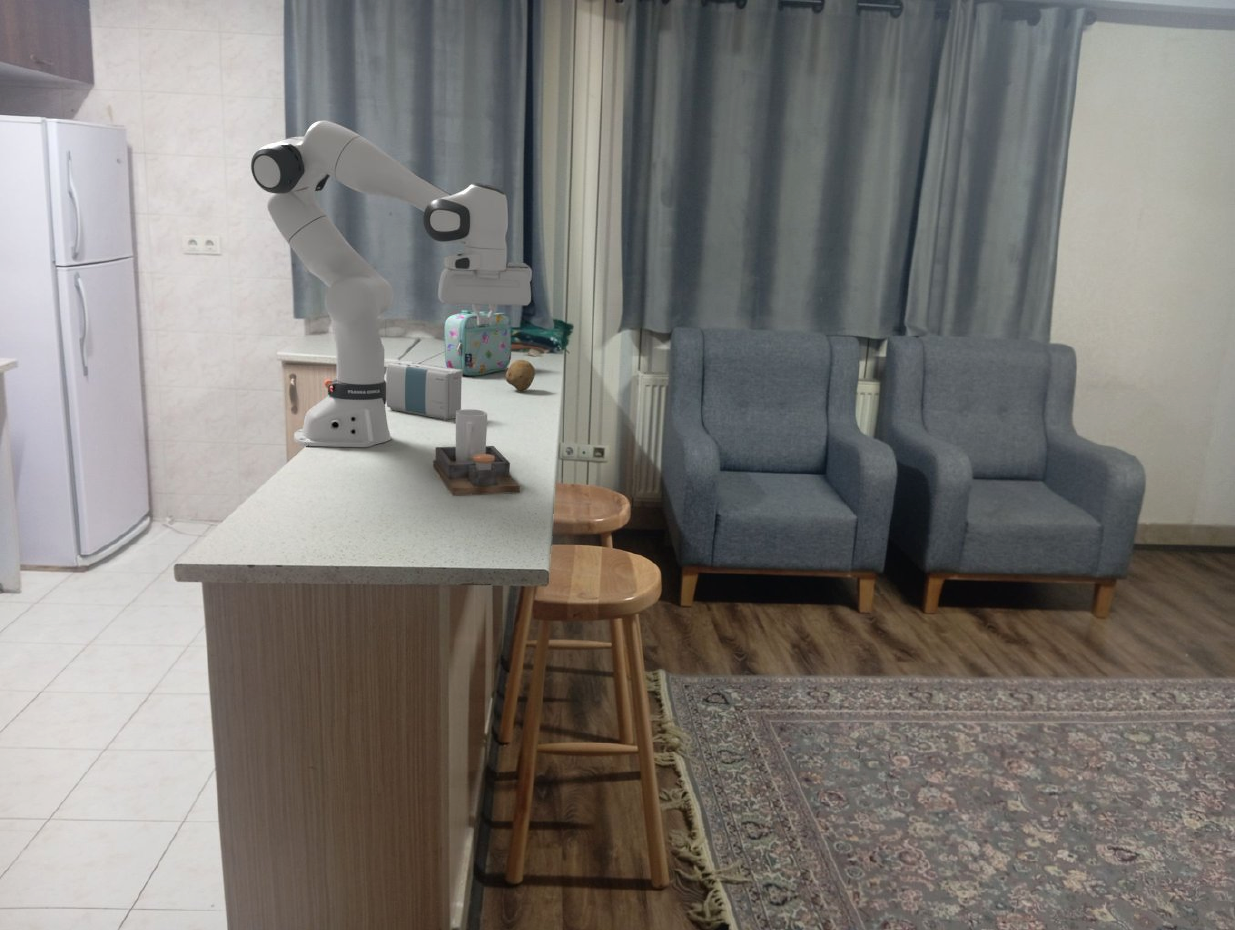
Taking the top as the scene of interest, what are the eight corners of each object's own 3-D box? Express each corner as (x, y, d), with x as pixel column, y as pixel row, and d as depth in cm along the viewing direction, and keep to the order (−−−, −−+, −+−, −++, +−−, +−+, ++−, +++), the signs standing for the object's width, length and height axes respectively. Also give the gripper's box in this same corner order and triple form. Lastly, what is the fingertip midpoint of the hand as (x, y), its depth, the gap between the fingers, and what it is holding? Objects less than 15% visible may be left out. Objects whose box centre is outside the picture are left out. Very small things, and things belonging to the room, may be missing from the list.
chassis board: (452, 495, 204) (453, 473, 203) (433, 466, 224) (433, 447, 222) (519, 492, 209) (520, 471, 208) (494, 465, 229) (495, 445, 227)
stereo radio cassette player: (384, 410, 277) (384, 337, 272) (404, 406, 284) (404, 335, 279) (446, 422, 268) (447, 347, 263) (464, 417, 275) (466, 344, 270)
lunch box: (463, 379, 330) (465, 313, 325) (439, 375, 335) (441, 310, 330) (513, 370, 352) (516, 309, 347) (490, 366, 357) (492, 305, 352)
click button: (474, 482, 206) (475, 459, 205) (470, 476, 210) (471, 454, 209) (496, 481, 208) (496, 458, 206) (491, 475, 212) (491, 453, 210)
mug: (456, 461, 223) (457, 408, 220) (486, 463, 224) (488, 410, 221) (451, 473, 214) (452, 418, 211) (483, 475, 214) (484, 419, 211)
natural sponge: (504, 393, 312) (505, 361, 309) (506, 387, 320) (507, 356, 318) (533, 394, 312) (534, 362, 309) (534, 389, 321) (536, 358, 318)
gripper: (528, 262, 226) (526, 323, 230) (437, 258, 219) (436, 322, 223) (536, 264, 221) (533, 327, 224) (442, 260, 214) (441, 326, 217)
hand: (484, 324), depth 223 cm, fingers closed
